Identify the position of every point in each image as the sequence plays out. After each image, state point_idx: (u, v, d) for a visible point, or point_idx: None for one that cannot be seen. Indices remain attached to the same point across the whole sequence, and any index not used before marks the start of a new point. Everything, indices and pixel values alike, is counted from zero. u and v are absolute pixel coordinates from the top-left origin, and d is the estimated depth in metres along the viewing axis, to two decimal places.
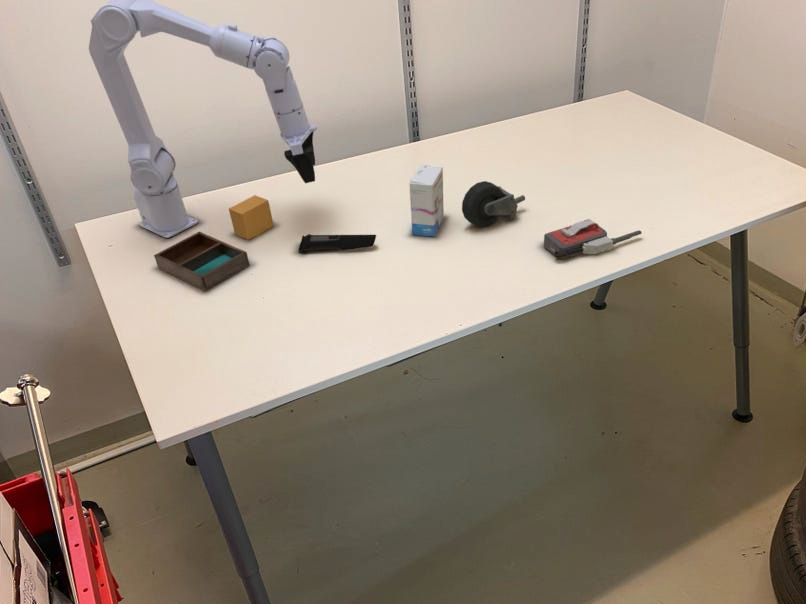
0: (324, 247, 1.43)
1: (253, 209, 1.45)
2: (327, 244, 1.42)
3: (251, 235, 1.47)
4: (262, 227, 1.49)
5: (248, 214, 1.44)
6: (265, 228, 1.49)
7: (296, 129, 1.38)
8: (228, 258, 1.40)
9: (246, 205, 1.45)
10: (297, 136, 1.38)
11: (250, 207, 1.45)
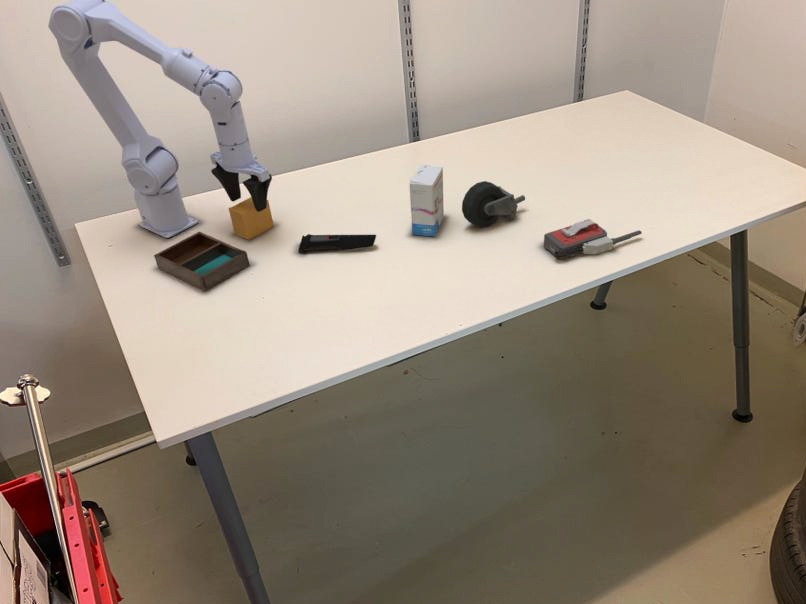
0: (324, 247, 1.43)
1: (253, 209, 1.45)
2: (327, 244, 1.42)
3: (251, 235, 1.47)
4: (262, 227, 1.49)
5: (248, 214, 1.44)
6: (265, 228, 1.49)
7: (249, 158, 1.38)
8: (228, 258, 1.40)
9: (246, 205, 1.45)
10: (250, 165, 1.39)
11: (250, 207, 1.45)
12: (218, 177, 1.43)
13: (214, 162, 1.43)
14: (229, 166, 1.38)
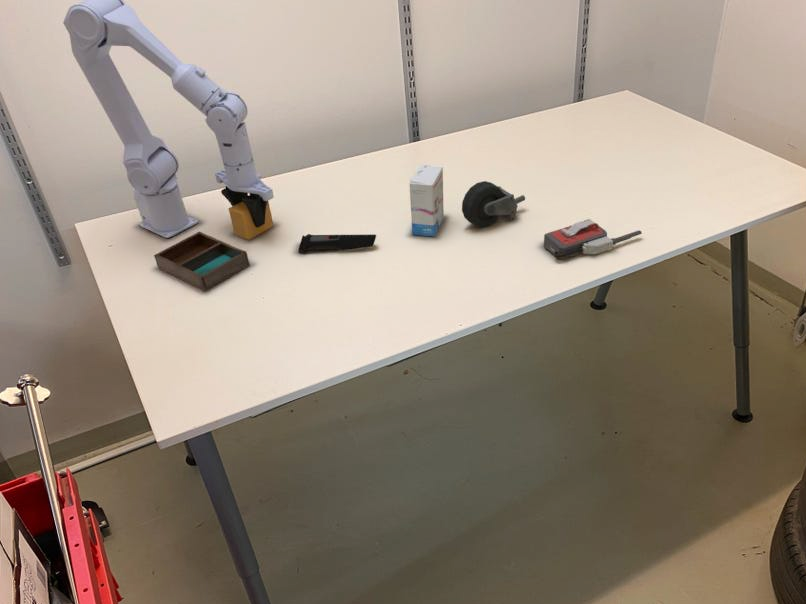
0: (324, 247, 1.43)
1: None
2: (327, 244, 1.42)
3: (251, 235, 1.47)
4: (262, 227, 1.49)
5: (247, 214, 1.44)
6: (265, 228, 1.49)
7: (253, 178, 1.41)
8: (228, 258, 1.40)
9: None
10: (255, 184, 1.42)
11: None
12: (228, 198, 1.45)
13: (219, 181, 1.46)
14: (234, 185, 1.40)
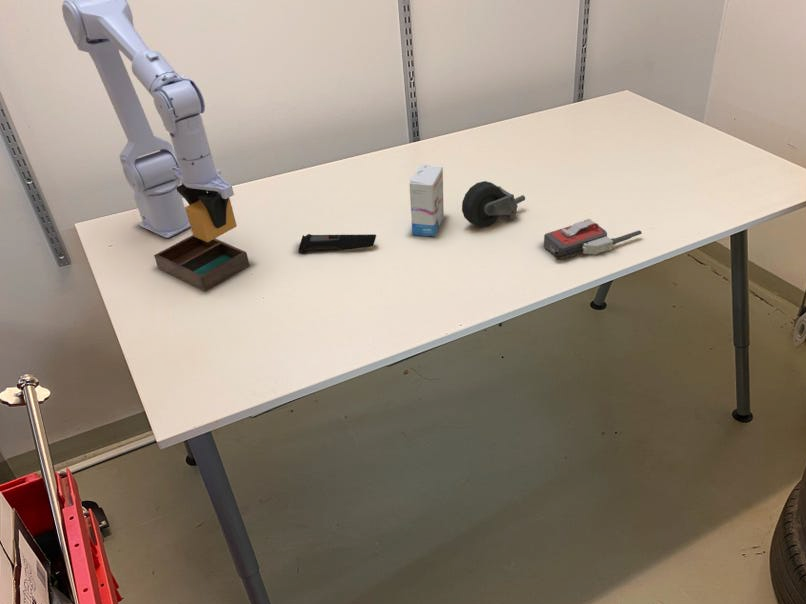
0: (324, 247, 1.43)
1: None
2: (327, 244, 1.42)
3: (211, 237, 1.33)
4: (223, 228, 1.35)
5: (206, 214, 1.30)
6: (227, 229, 1.35)
7: (211, 173, 1.27)
8: (228, 258, 1.40)
9: None
10: (213, 181, 1.28)
11: None
12: (184, 195, 1.31)
13: (174, 177, 1.32)
14: (189, 182, 1.26)
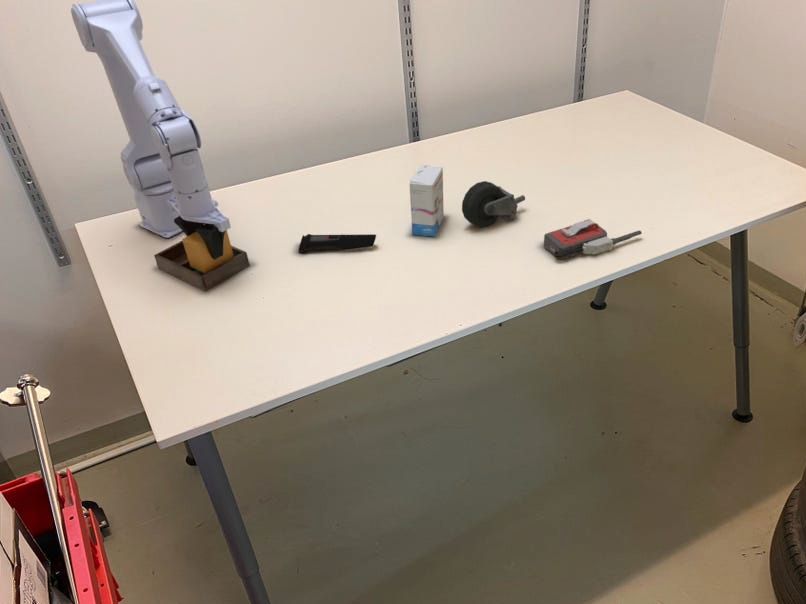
0: (324, 247, 1.43)
1: None
2: (327, 244, 1.42)
3: (208, 268, 1.34)
4: (220, 258, 1.35)
5: (203, 245, 1.31)
6: (224, 259, 1.36)
7: (208, 206, 1.28)
8: None
9: None
10: (210, 213, 1.28)
11: None
12: (181, 227, 1.31)
13: (172, 208, 1.32)
14: (186, 215, 1.27)
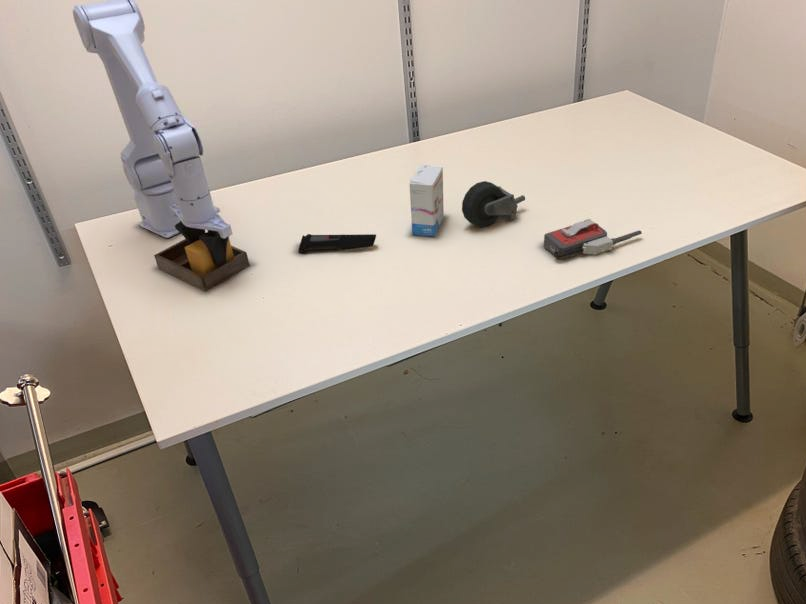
0: (324, 247, 1.43)
1: None
2: (327, 244, 1.42)
3: None
4: None
5: (205, 254, 1.32)
6: None
7: (210, 213, 1.29)
8: None
9: None
10: (212, 220, 1.29)
11: None
12: (182, 233, 1.32)
13: (174, 215, 1.33)
14: (188, 221, 1.28)
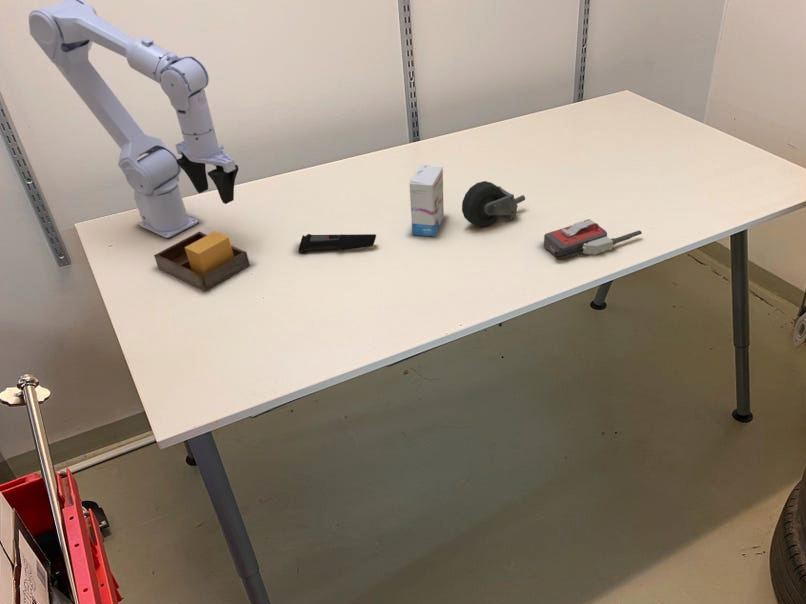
0: (324, 247, 1.43)
1: (212, 248, 1.33)
2: (327, 244, 1.42)
3: None
4: None
5: (205, 254, 1.32)
6: None
7: (214, 148, 1.34)
8: None
9: (204, 243, 1.33)
10: (216, 155, 1.34)
11: (208, 246, 1.33)
12: (183, 168, 1.38)
13: (180, 152, 1.39)
14: (193, 156, 1.33)
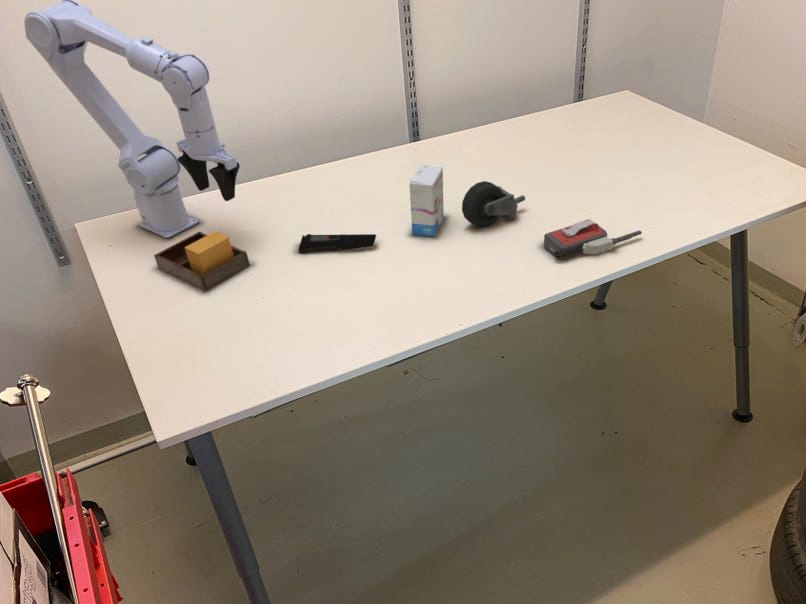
0: (324, 247, 1.43)
1: (212, 248, 1.33)
2: (327, 244, 1.42)
3: None
4: None
5: (205, 254, 1.32)
6: None
7: (215, 146, 1.35)
8: None
9: (204, 243, 1.33)
10: (217, 153, 1.35)
11: (208, 246, 1.33)
12: (185, 165, 1.39)
13: (181, 150, 1.39)
14: (195, 154, 1.34)
